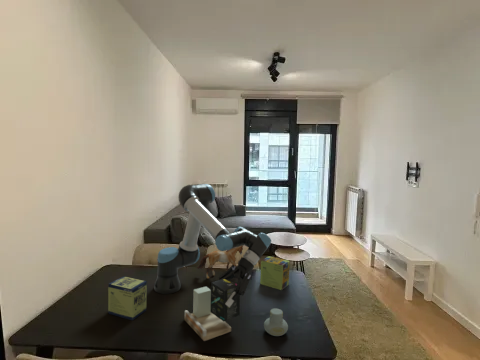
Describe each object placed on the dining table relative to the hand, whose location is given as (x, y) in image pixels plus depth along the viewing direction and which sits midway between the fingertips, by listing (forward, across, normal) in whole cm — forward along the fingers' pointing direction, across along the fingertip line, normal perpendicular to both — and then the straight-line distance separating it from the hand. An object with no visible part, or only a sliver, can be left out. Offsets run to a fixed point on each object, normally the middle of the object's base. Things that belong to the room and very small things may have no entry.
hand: (220, 300), depth 138 cm
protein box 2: (-29, -24, +49) cm, 61 cm away
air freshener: (-4, +16, +24) cm, 29 cm away
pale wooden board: (+12, -6, +7) cm, 15 cm away
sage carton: (+10, -13, +7) cm, 18 cm away
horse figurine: (-13, -54, +33) cm, 65 cm away
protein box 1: (+32, -37, -12) cm, 50 cm away
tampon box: (+3, 0, +7) cm, 8 cm away
